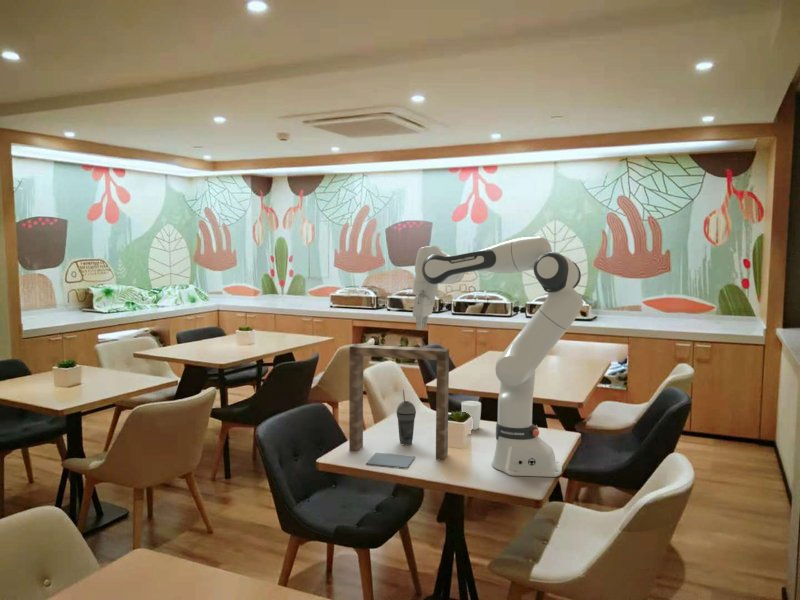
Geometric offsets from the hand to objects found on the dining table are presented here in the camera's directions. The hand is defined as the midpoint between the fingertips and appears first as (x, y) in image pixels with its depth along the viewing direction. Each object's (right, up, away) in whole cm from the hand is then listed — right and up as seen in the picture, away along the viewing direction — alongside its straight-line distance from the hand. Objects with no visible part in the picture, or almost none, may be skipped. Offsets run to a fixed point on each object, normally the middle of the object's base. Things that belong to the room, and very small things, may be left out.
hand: (421, 328), depth 218 cm
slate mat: (-11, -44, -17) cm, 48 cm away
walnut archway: (-8, -43, -8) cm, 45 cm away
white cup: (+21, -41, +23) cm, 52 cm away
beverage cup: (-6, -43, +2) cm, 43 cm away
